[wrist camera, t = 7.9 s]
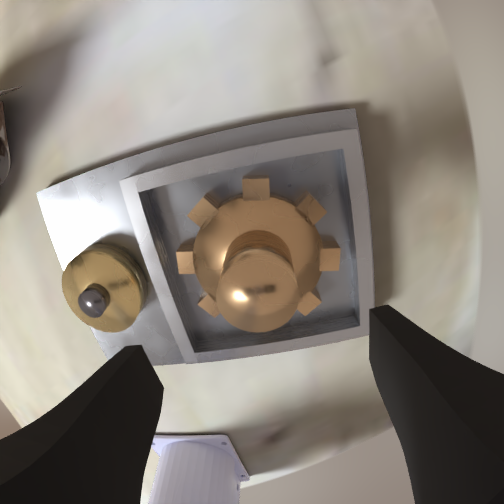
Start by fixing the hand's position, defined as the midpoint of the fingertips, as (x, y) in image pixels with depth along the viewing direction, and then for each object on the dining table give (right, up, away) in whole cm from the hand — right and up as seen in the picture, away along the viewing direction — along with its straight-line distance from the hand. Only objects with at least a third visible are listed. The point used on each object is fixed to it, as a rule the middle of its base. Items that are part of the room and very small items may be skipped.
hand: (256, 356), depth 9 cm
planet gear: (0, +3, +7) cm, 8 cm away
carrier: (-3, +3, +8) cm, 9 cm away
